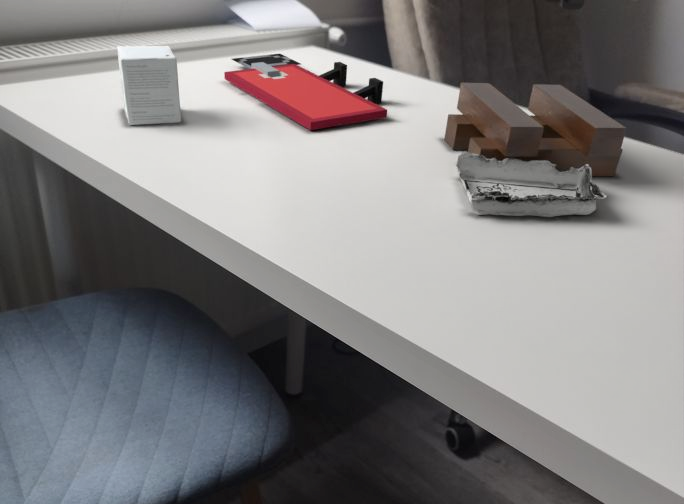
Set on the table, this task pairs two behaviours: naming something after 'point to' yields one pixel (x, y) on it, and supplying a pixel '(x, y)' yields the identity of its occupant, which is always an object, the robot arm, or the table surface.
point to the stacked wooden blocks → (536, 128)
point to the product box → (149, 84)
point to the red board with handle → (307, 91)
